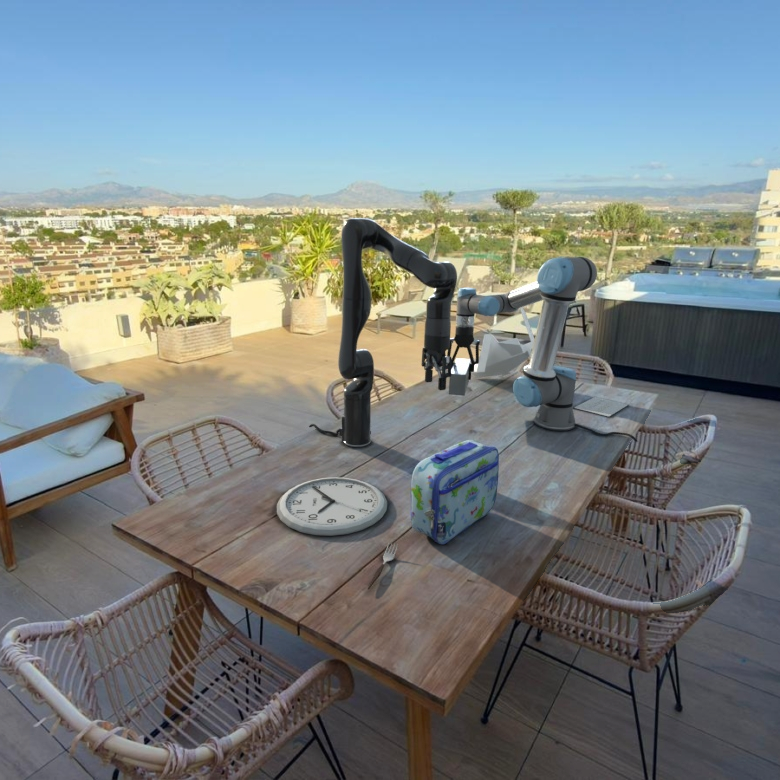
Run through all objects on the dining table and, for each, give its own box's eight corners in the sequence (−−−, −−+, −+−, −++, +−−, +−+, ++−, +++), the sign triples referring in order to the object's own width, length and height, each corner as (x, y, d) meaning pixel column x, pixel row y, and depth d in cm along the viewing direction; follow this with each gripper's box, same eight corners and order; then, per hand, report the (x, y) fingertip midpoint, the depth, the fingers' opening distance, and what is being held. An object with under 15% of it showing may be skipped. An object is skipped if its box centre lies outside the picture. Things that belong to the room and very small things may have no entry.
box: (455, 377, 230) (456, 358, 227) (469, 378, 228) (470, 359, 226) (448, 394, 206) (449, 373, 203) (464, 395, 204) (465, 374, 202)
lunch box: (436, 553, 122) (441, 472, 116) (403, 535, 129) (406, 457, 123) (500, 514, 140) (507, 441, 133) (468, 499, 147) (473, 430, 141)
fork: (362, 589, 110) (362, 581, 109) (388, 548, 124) (388, 541, 123) (373, 592, 109) (373, 584, 108) (398, 550, 123) (399, 543, 122)
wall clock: (392, 527, 129) (268, 531, 127) (391, 533, 130) (269, 537, 127) (383, 473, 158) (282, 475, 155) (383, 478, 158) (282, 480, 156)
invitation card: (608, 416, 214) (573, 407, 224) (608, 416, 214) (573, 408, 224) (628, 404, 229) (594, 396, 238) (628, 405, 229) (594, 397, 238)
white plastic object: (490, 419, 265) (470, 397, 240) (471, 347, 287) (451, 319, 262) (561, 395, 253) (548, 369, 228) (536, 321, 275) (521, 290, 250)
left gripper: (415, 328, 157) (413, 380, 162) (437, 338, 144) (435, 394, 149) (437, 327, 160) (435, 378, 165) (461, 336, 147) (457, 391, 152)
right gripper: (440, 325, 217) (438, 379, 224) (487, 328, 213) (483, 382, 220) (442, 322, 224) (440, 374, 231) (488, 325, 220) (484, 377, 227)
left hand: (435, 385), depth 157 cm, fingers open, 8 cm apart
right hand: (461, 378), depth 226 cm, fingers closed on box, 6 cm apart
